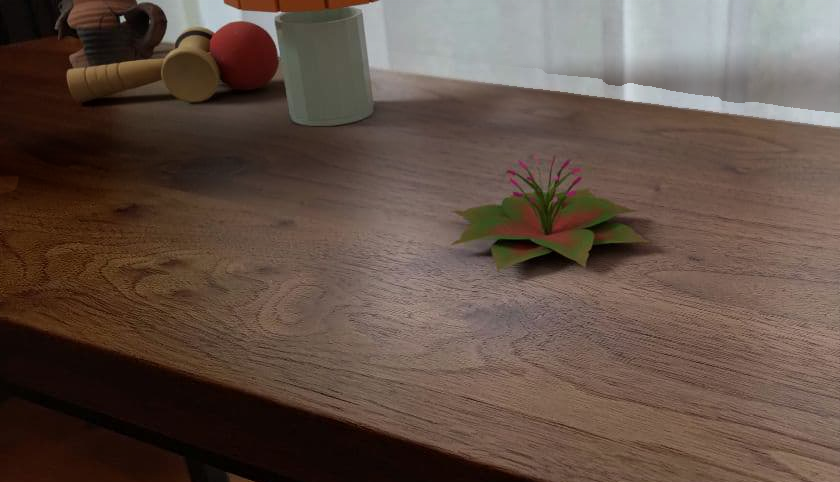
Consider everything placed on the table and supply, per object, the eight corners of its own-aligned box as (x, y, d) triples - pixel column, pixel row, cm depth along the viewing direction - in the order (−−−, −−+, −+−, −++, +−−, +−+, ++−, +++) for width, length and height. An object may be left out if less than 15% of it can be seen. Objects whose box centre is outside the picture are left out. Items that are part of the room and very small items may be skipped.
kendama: (72, 131, 85) (279, 85, 86) (45, 57, 83) (258, 11, 84) (100, 121, 92) (291, 79, 93) (76, 52, 90) (271, 10, 91)
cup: (310, 131, 78) (294, 28, 74) (278, 113, 83) (261, 15, 79) (388, 114, 81) (376, 14, 78) (352, 97, 86) (339, 2, 83)
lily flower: (601, 186, 65) (600, 118, 63) (686, 257, 55) (689, 179, 53) (422, 217, 61) (415, 146, 59) (478, 299, 51) (471, 217, 49)
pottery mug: (44, 85, 96) (27, 2, 97) (108, 102, 106) (92, 27, 106) (150, 51, 94) (133, -34, 94) (207, 72, 103) (190, -6, 103)
